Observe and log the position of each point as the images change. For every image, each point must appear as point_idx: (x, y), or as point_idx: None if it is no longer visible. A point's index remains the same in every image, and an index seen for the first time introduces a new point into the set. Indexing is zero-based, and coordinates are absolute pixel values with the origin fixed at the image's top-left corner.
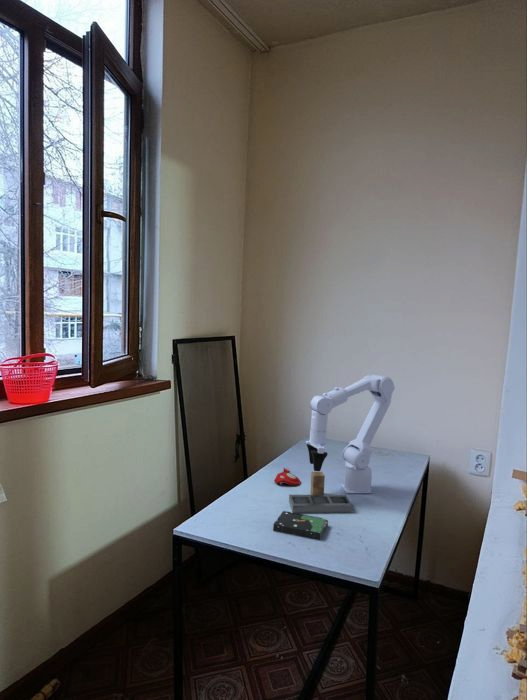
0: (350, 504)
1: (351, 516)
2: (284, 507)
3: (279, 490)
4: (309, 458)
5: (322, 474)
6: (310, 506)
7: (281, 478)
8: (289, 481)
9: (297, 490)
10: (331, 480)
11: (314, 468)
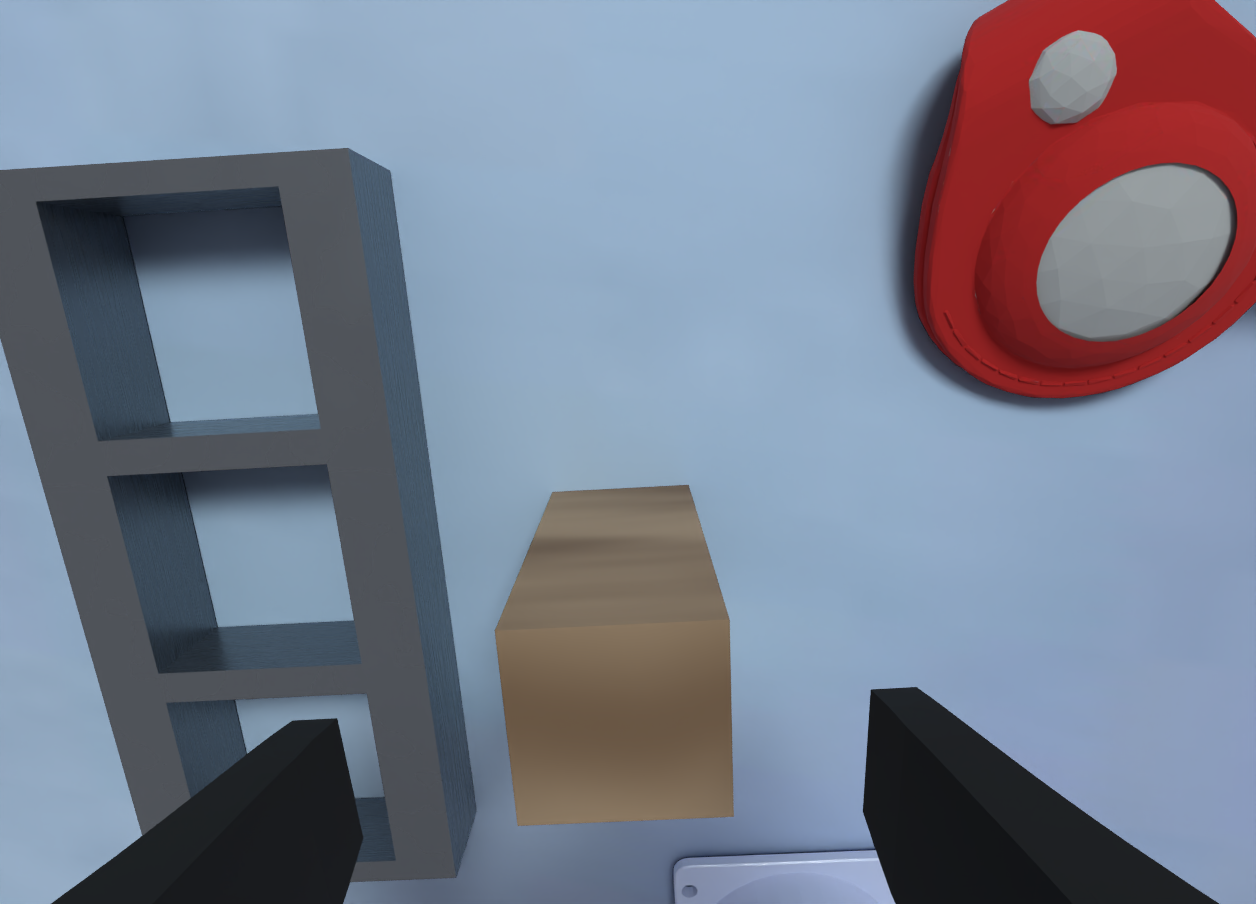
0: None
1: (126, 798)
2: (199, 92)
3: (770, 58)
4: (990, 768)
5: (582, 798)
6: (38, 423)
7: (1019, 59)
8: (950, 214)
9: (770, 328)
10: (1072, 774)
11: (234, 770)
